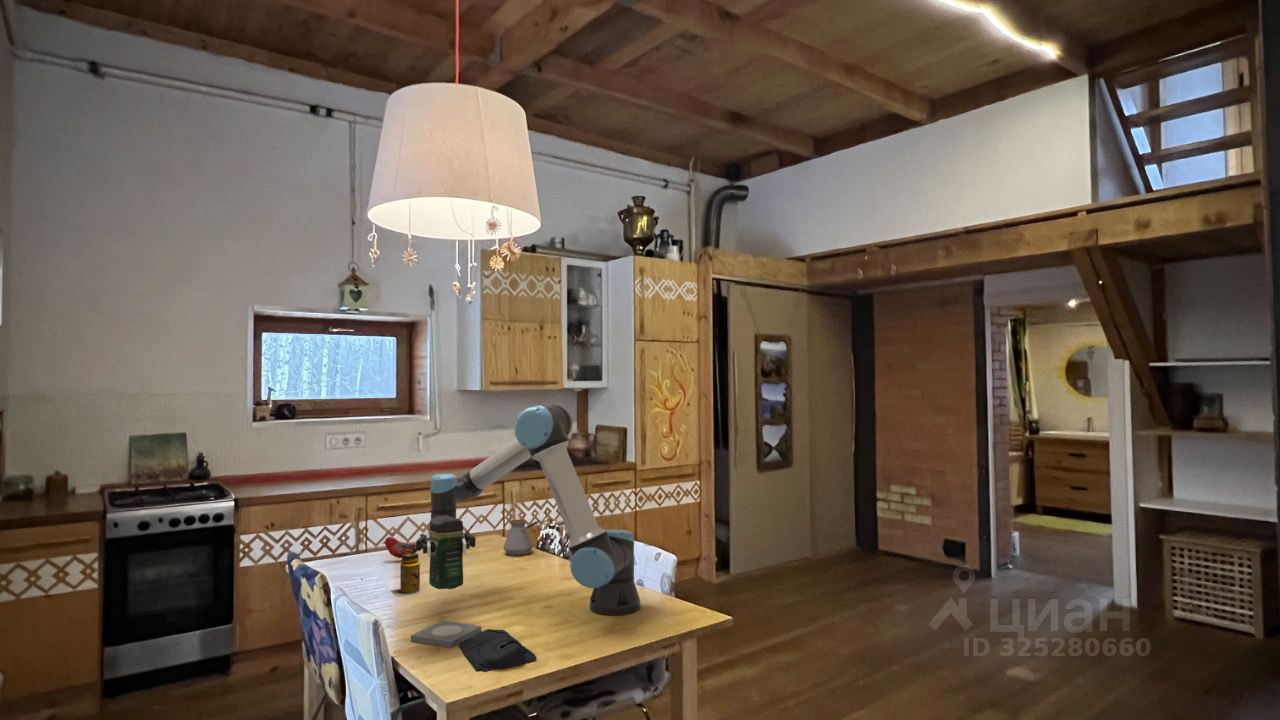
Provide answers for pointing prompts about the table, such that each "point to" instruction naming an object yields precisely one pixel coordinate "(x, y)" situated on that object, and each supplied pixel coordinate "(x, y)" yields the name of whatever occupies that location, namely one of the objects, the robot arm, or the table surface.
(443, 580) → the coffee jar
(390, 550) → the decorative bird figurine
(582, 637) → the table surface
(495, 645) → the folded black cloth
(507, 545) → the coffee pot
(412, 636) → the plate
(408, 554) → the condiment
